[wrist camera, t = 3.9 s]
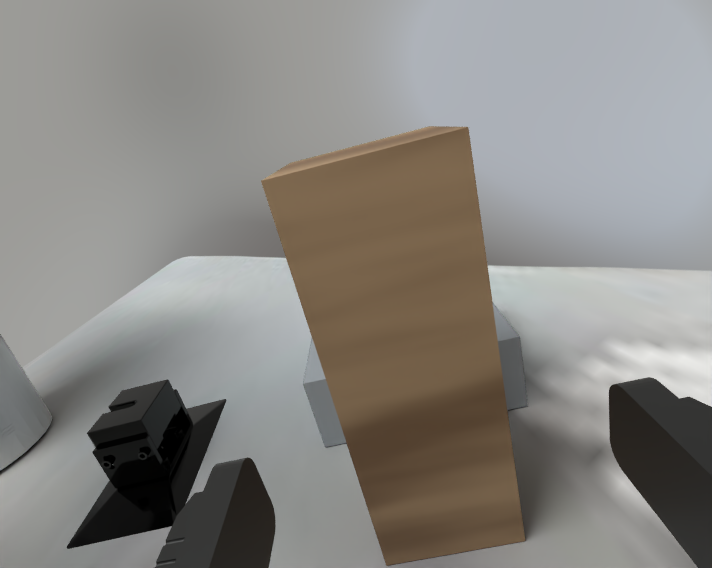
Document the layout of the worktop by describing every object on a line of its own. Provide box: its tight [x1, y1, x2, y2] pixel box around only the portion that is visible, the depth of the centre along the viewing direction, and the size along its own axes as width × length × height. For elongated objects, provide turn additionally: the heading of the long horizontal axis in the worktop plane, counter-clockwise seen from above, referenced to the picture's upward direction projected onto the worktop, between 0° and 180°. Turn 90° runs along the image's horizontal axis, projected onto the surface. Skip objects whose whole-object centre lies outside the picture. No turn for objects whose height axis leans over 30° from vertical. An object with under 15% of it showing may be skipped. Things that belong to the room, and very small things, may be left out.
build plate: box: [67, 380, 226, 549], centre depth 23 cm, size 12×7×5 cm, turn 3°
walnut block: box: [261, 126, 525, 566], centre depth 14 cm, size 5×5×14 cm
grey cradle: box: [303, 302, 528, 447], centre depth 24 cm, size 9×10×4 cm
